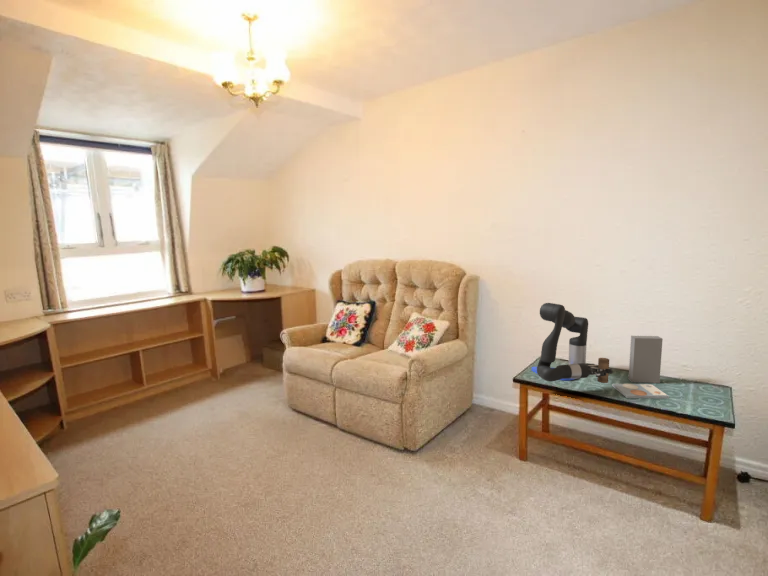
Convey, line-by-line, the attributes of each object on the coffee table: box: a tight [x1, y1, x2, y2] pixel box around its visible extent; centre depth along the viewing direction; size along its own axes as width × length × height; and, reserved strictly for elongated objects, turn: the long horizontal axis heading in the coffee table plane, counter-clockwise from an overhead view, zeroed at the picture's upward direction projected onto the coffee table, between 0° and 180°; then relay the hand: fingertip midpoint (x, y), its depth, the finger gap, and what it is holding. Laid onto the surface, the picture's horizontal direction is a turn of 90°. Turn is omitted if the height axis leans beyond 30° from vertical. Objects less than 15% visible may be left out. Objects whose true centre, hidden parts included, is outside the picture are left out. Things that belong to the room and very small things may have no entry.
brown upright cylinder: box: [596, 357, 610, 384], centre depth 215 cm, size 5×5×12 cm
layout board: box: [611, 383, 670, 399], centre depth 214 cm, size 16×20×2 cm
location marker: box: [531, 366, 577, 382], centre depth 242 cm, size 13×3×25 cm
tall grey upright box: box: [627, 335, 663, 384], centre depth 227 cm, size 14×6×25 cm, turn 80°
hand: (608, 368), depth 215 cm, fingers closed on brown upright cylinder, 5 cm apart
